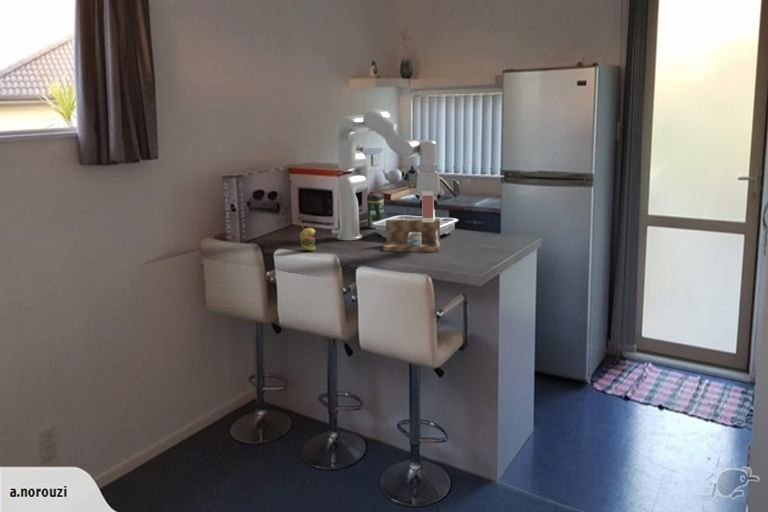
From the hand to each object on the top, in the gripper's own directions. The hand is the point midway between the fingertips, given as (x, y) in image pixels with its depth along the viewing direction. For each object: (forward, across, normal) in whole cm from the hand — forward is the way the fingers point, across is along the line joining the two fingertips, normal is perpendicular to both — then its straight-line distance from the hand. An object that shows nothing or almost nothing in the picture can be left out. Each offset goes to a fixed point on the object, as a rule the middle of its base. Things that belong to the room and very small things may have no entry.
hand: (428, 208), depth 292 cm
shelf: (+18, -8, +1) cm, 20 cm away
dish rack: (+19, -9, +29) cm, 36 cm away
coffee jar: (+19, -32, +49) cm, 61 cm away
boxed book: (+5, 0, 0) cm, 5 cm away
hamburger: (+19, -55, -7) cm, 58 cm away
